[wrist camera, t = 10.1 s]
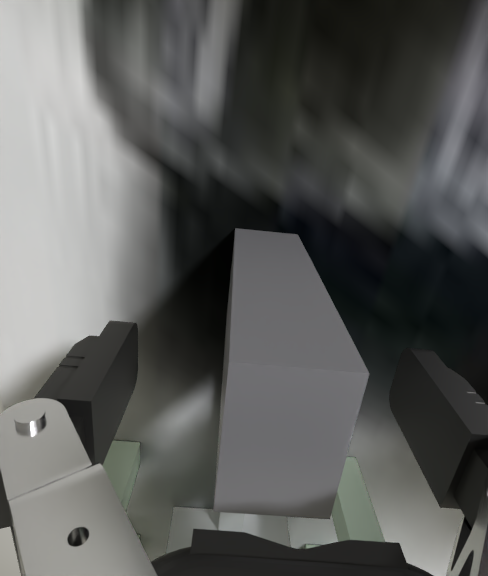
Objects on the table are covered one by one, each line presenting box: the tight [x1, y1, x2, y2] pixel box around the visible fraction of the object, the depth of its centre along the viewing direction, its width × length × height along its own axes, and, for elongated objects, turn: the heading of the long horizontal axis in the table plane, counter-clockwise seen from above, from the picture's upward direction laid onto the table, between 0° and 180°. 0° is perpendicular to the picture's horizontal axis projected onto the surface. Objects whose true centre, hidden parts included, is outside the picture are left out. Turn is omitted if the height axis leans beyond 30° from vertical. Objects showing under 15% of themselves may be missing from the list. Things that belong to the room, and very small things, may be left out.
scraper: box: [166, 228, 369, 554], centre depth 14 cm, size 6×16×9 cm, turn 174°
